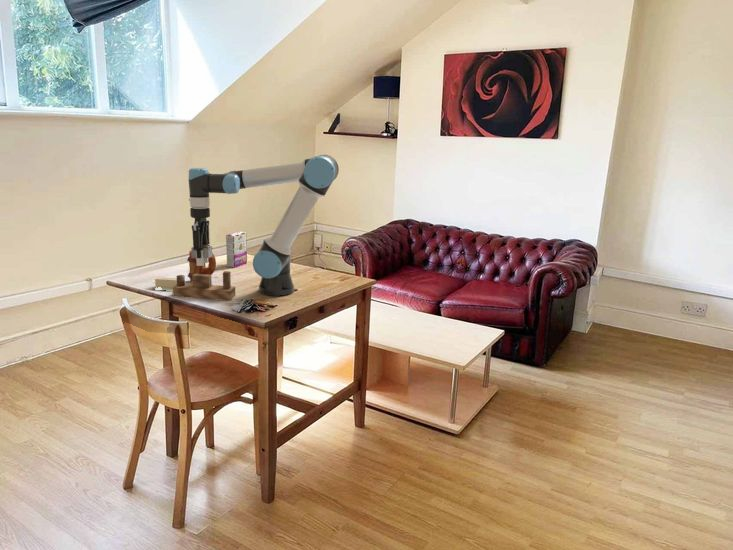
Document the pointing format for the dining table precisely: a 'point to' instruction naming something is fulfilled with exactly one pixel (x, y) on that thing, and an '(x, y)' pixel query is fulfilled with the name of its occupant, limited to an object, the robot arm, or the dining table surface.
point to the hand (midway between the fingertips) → (202, 263)
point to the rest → (166, 283)
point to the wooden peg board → (204, 287)
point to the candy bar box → (236, 249)
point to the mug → (201, 269)
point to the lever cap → (206, 251)
